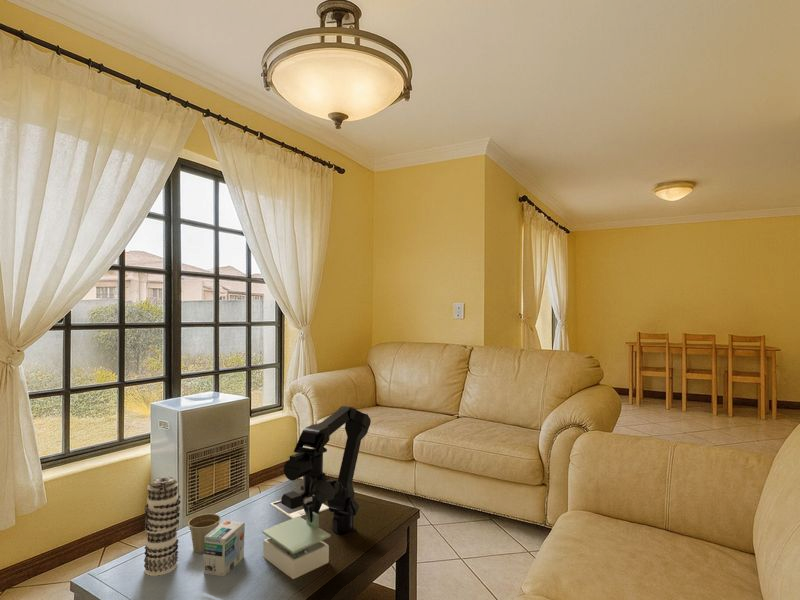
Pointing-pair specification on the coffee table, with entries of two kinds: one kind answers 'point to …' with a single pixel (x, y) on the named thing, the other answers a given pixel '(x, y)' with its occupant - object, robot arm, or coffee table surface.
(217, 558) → the light bulb box
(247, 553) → the coffee table surface
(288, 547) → the lid
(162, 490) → the white patterned cylinder
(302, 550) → the steel block
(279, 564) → the tub
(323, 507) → the photo frame
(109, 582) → the coffee table surface
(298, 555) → the steel block
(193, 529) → the flower pot
